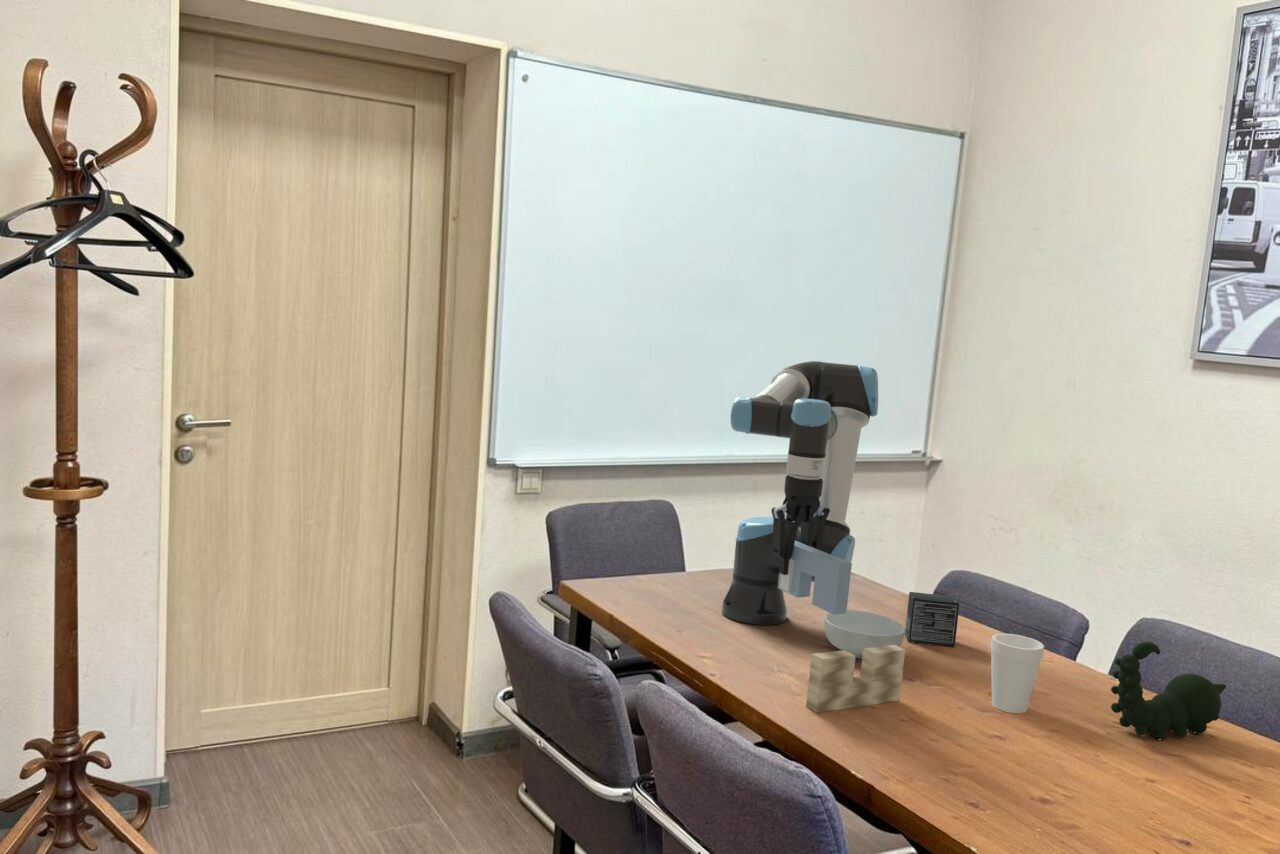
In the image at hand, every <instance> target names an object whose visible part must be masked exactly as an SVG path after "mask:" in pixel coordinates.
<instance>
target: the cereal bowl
mask: <svg viewBox="0 0 1280 854" xmlns="http://www.w3.org/2000/svg"><path fill="white" fill-rule="evenodd" d="M823 621H824V622H823V623H824V624H823V628H824V629H823V630H824V631H823V632H824V633H825V634H824V635H825V637H826V639H827V640H828V642H829V643H830V644H831V645H832V646H834V647H836V648H837V649H839V651H843V650H845V651H847V652H849V653H851V654H853V655H855V656H856V657H855V659H860V660H862V656H863V648H870V647H880V646H889V645H896V646H898V647H900V648H901V645H902V644H903V641H904V639H905V638H904V637H905V628H906V627H904V625H902V624H901V623H900V622H898V621H897V620H895V619H892V618H890V617H887V616H885V615H882V614H881V615H880V614H878V613H872V612H868V611H867V612H866V611H860V610H850V609H849V610H847V611H846V614H836V615H834V614H832V613H829V612H827V614H825V616H824V620H823Z"/></svg>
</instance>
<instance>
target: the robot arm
mask: <svg viewBox="0 0 1280 854" xmlns="http://www.w3.org/2000/svg"><path fill="white" fill-rule="evenodd" d="M878 411H879V377H878V372H877V371H876V369H874V368H873V367H870V366H862V365H860V364H857V365H854V364H843V363H836V362H835V363H833V362H825V361H817V360H816V361H813V360H811V361H804V362H800V363H799V362H798V363H796V364H793V365H789V366H788V367H785V368H782V370H780V371H778V372H777V373H776V374H774V376H773V377H772V380H771V382H770V385H768V386H767V387H765V388H764V390H762V391H761V392H760V393H758V394H757V395H756V396H755V397H750V396H747V397H742V396H737V397H735V399H734V401H733V403H732V406H731V411H730V426H731V429H732V430H733V431H734V432H740V433H743V434H746V435H751V434H753V435H758V436H767V437H768V436H769V437H776V438H783V439H784V438H785V439H789V445H788V452H787V459H786V461H787V462H786V469H785V472H786V473H787V475H786V476H785V480H784V488H783V489H784V490H783V492H784V495H785V498H784V500H783V501H782V504H781V505H779V506H778V507H772V508H771V515H772V516H761V517H760V516H759V517H751V518H746V519H744V520H742V521H740V523H739V524H738V527H737V534H736V537H735V548H734V560H733V570H732V579H731V583H730V585H729V587H728V589H727V591H726V594H725V596H724V598H723V600H722V605H721V613H722V614H723V616H725V617H726V618H728V619H731V620H734V621H736V622H740V623H744V624H749V625H750V624H751V625H758V626H759V625H762V626H768V625H769V626H772V625H779V624H782V623H784V622H786V620H787V614H788V610H787V604H786V599H785V596H784V592H785V591H787V592H791V585H792V575H793V566H794V560H792V559H791V556H792V552H793V547H794V543H795V541H798V542H800V543H803V544H805V545H808V546H810V547H813V548H815V549H818V550H820V551H823V552H825V553H828V554H830V555H833V556H835V557H838V558H840V559H843V560H845V561H848V562H851V563H852V560H853V557H854V556H853V555H854V550H855V547H856V539H855V537H854V536H853V535H852V534H850V533H851V528H850V526H849V525H848V524H847V522H846V518H847V513H848V507H849V501H850V496H851V495H850V494H851V489H852V484H853V477H854V472H855V467H856V466H855V465H856V460H857V457H858V456H857V454H858V449H859V443H860V437H861V431H862V429H863V428H864V427H866V426H867V425H869V423H870V419H871V418H870V417H872V418H873V417H875V416H877V415H878ZM779 572H780V573H781V581H780V588H781V589H783V590H785V591H783V590H781V589H779V588H778V581H779ZM814 581H815V577H813V576H812V580H811V583H812V582H813V583H814ZM787 592H786V593H787Z"/></svg>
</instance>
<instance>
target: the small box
mask: <svg viewBox="0 0 1280 854" xmlns="http://www.w3.org/2000/svg"><path fill="white" fill-rule="evenodd" d="M907 602H908V603H907V609H906V610H907V611H906V612H907V613H906V620H905V627H904V628H905V633H904V637H905V636H906V637H905V639H906V638H907V639H906V642H908V643H909V642H914V643H913V644H918V643H921V644H920V645H928V644H930V645H931V646H938V647H939V646H940V647H948V648H955V647H956V638H957V631H958V620H959V610H960V605H961V602H960V601H959V600H958V599H957V597H956V596H954V595H944V594H935V593H923V592H916V591H915V592H914V591H909V592H908V601H907ZM930 645H929V646H930Z"/></svg>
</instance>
